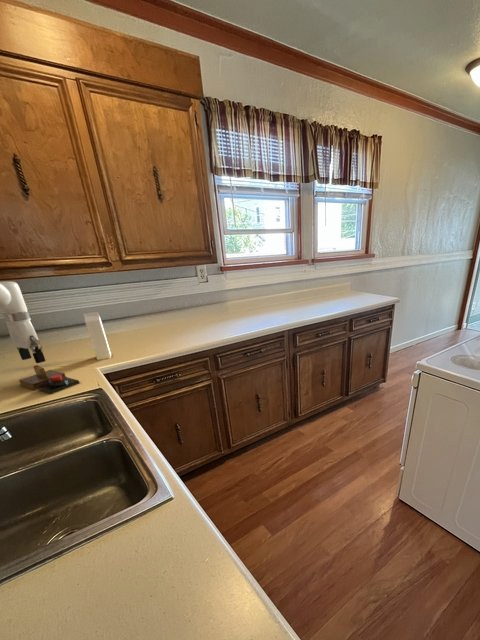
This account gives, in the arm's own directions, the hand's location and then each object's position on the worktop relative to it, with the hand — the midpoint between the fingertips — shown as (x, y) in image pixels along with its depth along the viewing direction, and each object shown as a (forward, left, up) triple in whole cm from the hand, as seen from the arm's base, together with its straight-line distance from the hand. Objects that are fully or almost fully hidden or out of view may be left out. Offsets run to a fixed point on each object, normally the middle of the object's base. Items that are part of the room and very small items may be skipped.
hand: (33, 360), depth 128 cm
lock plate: (+1, 0, -10) cm, 10 cm away
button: (+1, -10, -7) cm, 12 cm away
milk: (+32, +6, -10) cm, 34 cm away
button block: (+1, -10, -10) cm, 14 cm away
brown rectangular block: (+1, 0, -7) cm, 7 cm away
